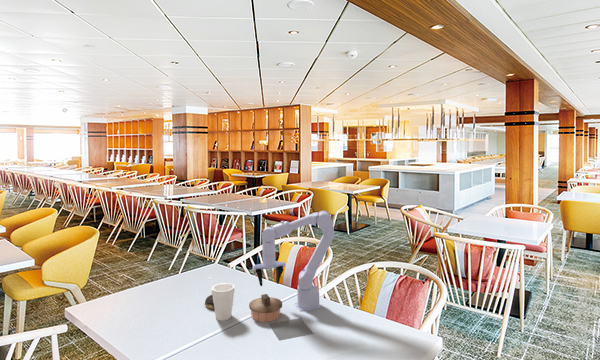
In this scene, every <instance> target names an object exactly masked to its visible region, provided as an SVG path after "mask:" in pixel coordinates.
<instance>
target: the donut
mask: <svg viewBox="0 0 600 360" xmlns="http://www.w3.org/2000/svg"><path fill="white" fill-rule="evenodd" d="M204 305H205V307H206V308H208V309H210V310H215V308H214V302H213V296H212V294H210V295H208V296H207V297H206V298H205V302H204Z"/></svg>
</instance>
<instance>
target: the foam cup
mask: <svg viewBox="0 0 600 360" xmlns="http://www.w3.org/2000/svg"><path fill="white" fill-rule="evenodd" d="M234 294H235V285H234V284H233V283H228V282H227V283H226V282H225V283H217V284H214V285H212V287H211V295H212V296H213V302H214V308H215V309H214V313H215V315H214V316H215V318H216V320H218V321H220V322H221V321H223V322H224V321H228V319H230V318H231V317H232V313H233V312H232V311H233V305H234V298H235V297H234V296H235V295H234Z"/></svg>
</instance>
